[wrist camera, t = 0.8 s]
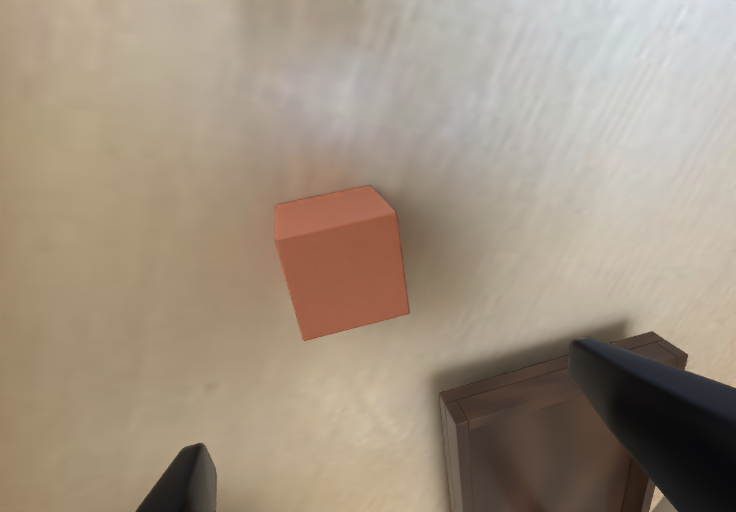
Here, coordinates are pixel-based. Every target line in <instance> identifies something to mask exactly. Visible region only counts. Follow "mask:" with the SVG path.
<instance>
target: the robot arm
mask: <svg viewBox="0 0 736 512" xmlns="http://www.w3.org/2000/svg"><path fill="white" fill-rule="evenodd" d="M568 368H569V372H570V374H571V376H572V377H573V379H574V380H575V381H576V383H577V384H578V386H579V387H580V389H581V390H582V392H583V393H584V394H585V396H586V397H587V399H588V400H589V402H590V403H591V405H592V406H593V407H594V409H595V410H596V412H597V413H598V415H599V416H600V418H601V419H602V420H603V422H604V423H605V424H606V426H607V427H608V429H609V430H610V431H611V432H612V434H613V435H614V436H615V437H616V438H617V440H618V441H619V442H620V443H621V444H622V446H623V447H624V448H625V449H626V450H627V452H628V453H629V454H630V455H631V456H632V458H633V459H634V460H635V461H636V462H637V464H638V465H639V466H640V467H641V468H642V469H643V471H644V472H645V473H646V474H647V475H648V477H649V478H650V479H651V480H652V481H653V483H654V484H655V485H656V486H657V487H658V489H659V490H660V491H661V492H662V493H663V494H664V496H665V497H666V498H667V499H668V500H669V501H670V503H671V504H672V505H673V506H674V507H675V509H676V510H677V511H678V512H736V388H734V387H731V386H728V385H725V384H723V383H720V382H717V381H714V380H711V379H708V378H705V377H703V376H700V375H697V374H694V373H691V372H688V371H685V370H683V369H680V368H677V367H674V366H671V365H668V364H665V363H663V362H660V361H657V360H654V359H651V358H648V357H645V356H643V355H640V354H637V353H634V352H631V351H628V350H626V349H623V348H620V347H617V346H614V345H611V344H608V343H606V342H603V341H600V340H597V339H594V338H591V337H582V338H578V339H575V340H573V341H572V342H571V343H570V349H569V359H568ZM216 492H217V473H216V468H215V465H214V463H213V461H212V459H211V457H210V455H209V453H208V450H207V448H206V446H205V445H204V444H203V443H198V444H194V445H191V446H187V447H184V448H183V449H182V450H181V451H180V452H179V454H178V455H177V456H176V458H175V459H174V460H173V462H172V463H171V464H170V466H169V467H168V468H167V470H166V471H165V472H164V474H163V475H162V476H161V478H160V479H159V481H158V482H157V483H156V485H155V486H154V487H153V489H152V490H151V491H150V493H149V494H148V495H147V497H146V498H145V499H144V501H143V502H142V503H141V505H140V506H139V507H138V509H137V510H136V512H216Z"/></svg>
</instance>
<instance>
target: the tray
mask: <svg viewBox="0 0 736 512" xmlns="http://www.w3.org/2000/svg"><path fill="white" fill-rule="evenodd" d="M610 344H611V345H614V346H617V347H620V348H623V349H626V350H628V351H631V352H634V353H637V354H640V355H643V356H645V357H648V358H651V359H654V360H657V361H660V362H663V363H665V364H668V365H671V366H674V367H677V368H680V369H683V370H685V366H686V362H687V358H688V354H686V353H685V352H683V351H682V350H680V349H679V348H677V347H676V346H674V345H673V344H671V343H669V342H668V341H666V340H664V339H663V338H662V337H660V336H659V335H657V334H656V333H654V332H652V331H651V332H648V333H644V334H641V335H637V336H634V337H630V338H627V339H624V340H620V341H617V342H613V343H610ZM568 359H569V355H568V356H565V357H561V358H558V359H554V360H551V361H547V362H544V363H540V364H537V365H533V366H530V367H527V368H523V369H520V370H516V371H513V372H509V373H506V374H502V375H499V376H495V377H492V378H488V379H485V380H482V381H478V382H475V383H471V384H468V385H464V386H461V387H457V388H454V389H450V390H447V391H443V392H440V393H439V397H440V407H441V417H442V426H443V436H444V446H445V456H446V465H447V475H448V485H449V494H450V504H451V512H649V509H650V505H651V501H652V497H653V493H654V489H655V484H654V483H653V481H652V480H651V479H650V478H649V477H648V475H647V474H646V473H645V472H644V471H643V469H642V468H641V467H640V466H639V465H638V464H637V462H636V461H635V460H634V459H633V458H632V456H631V455H630V454H629V453H628V452H627V450H626V449H625V448H624V447H623V446H622V444H621V443H620V442H619V441H618V440H617V438H616V437H615V436H614V435H613V434H612V432H611V431H610V430H609V429H608V427H607V426H606V424H605V423H604V422H603V420H602V419H601V418H600V416H599V415H598V413H597V412H596V410H595V409H594V407H593V406H592V405H591V403H590V402H589V400H588V399H587V397H586V396H585V394H584V393H583V392H582V390H581V389H580V387H579V386H578V384H577V383H576V381H575V380H574V379H573V377H572V376H571V374H570V372H569V368H568Z"/></svg>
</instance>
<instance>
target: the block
mask: <svg viewBox="0 0 736 512" xmlns="http://www.w3.org/2000/svg"><path fill="white" fill-rule="evenodd" d="M275 242H276V246H277V250H278V253H279V257H280V260H281V264H282V267H283V271H284V274H285V278H286V282H287V285H288V289H289V292H290V296H291V299H292V303H293V306H294V310H295V313H296V317H297V321H298V324H299V328H300V331H301V335H302V338H303V340H304V341H306V340H310V339H313V338H317V337H321V336H325V335H329V334H333V333H337V332H340V331H344V330H348V329H352V328H356V327H360V326H364V325H368V324H371V323H375V322H379V321H383V320H387V319H391V318H395V317H398V316H402V315H406V314H409V313H410V310H409V303H408V295H407V287H406V280H405V272H404V264H403V257H402V249H401V241H400V234H399V226H398V218H397V213H396V212H395V211H394V210H393V208H392V207H391V206H390V205H389V204H388V203H387V202H386V201H385V200H384V199H383V198H382V197H381V196H380V195H379V194H378V193H377V192H376V190H375V189H374V188H373V187H372V186H371V185H367V186H362V187H358V188H353V189H348V190H343V191H339V192H334V193H329V194H325V195H320V196H315V197H310V198H306V199H301V200H296V201H291V202H287V203H282V204H277V205H276V206H275Z"/></svg>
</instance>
